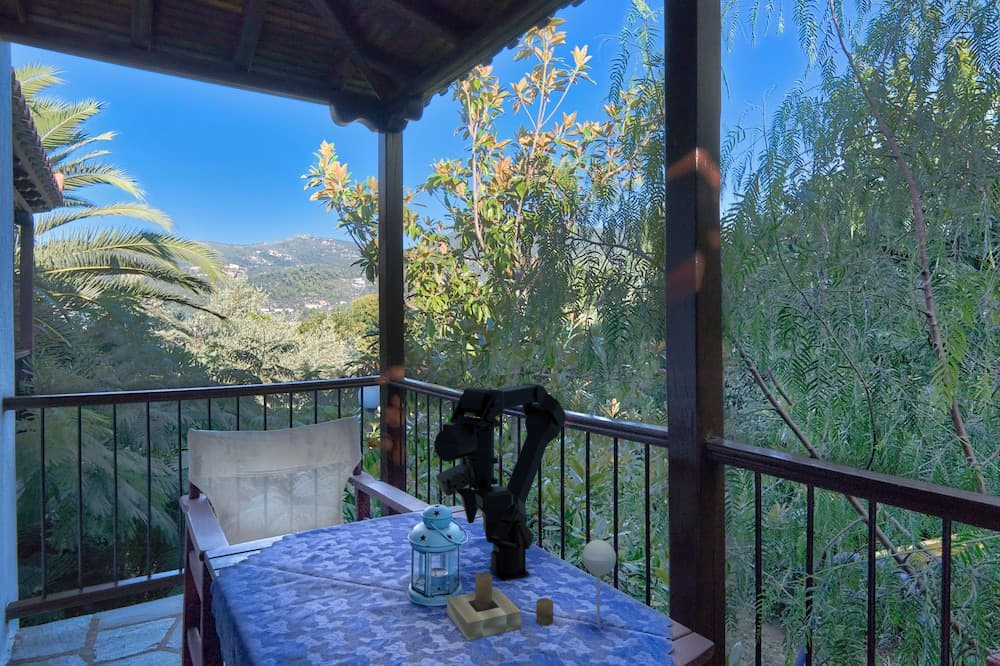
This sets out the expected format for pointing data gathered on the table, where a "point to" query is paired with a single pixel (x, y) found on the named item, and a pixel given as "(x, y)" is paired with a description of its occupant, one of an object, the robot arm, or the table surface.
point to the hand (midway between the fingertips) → (479, 530)
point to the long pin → (483, 592)
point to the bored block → (483, 615)
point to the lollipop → (599, 563)
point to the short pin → (544, 611)
